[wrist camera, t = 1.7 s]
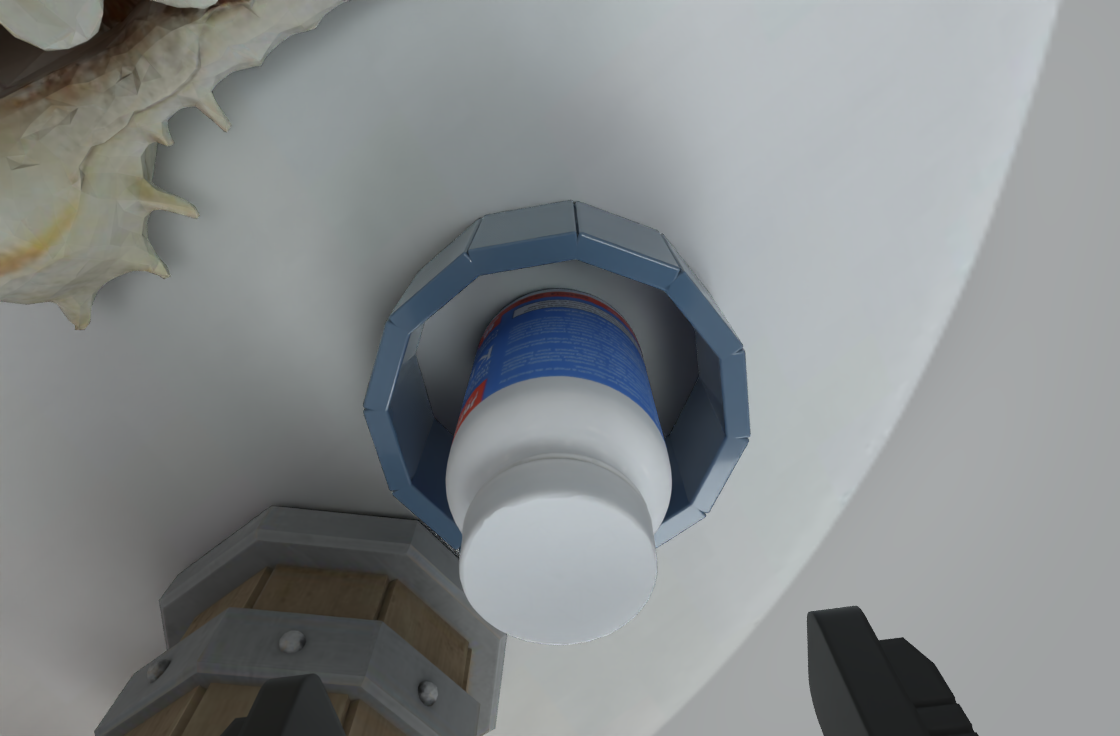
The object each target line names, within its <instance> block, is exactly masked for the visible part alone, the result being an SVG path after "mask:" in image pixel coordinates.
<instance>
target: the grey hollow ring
mask: <svg viewBox="0 0 1120 736" xmlns="http://www.w3.org/2000/svg"><path fill="white" fill-rule="evenodd" d="M575 259H576V260H579V261H582V262H585V263H587V264H590V265H593V266H596V267H599V268H601V269H604V270H607V271H610V272H613V273H615V274H618V275H621V276H624V277H627V278H629V279H632V280H635V281H638V282H641V283H643V284H646V285H649V286H652V287H655V288H657V289H660V290H663V291H665V292H666V294H667V295H668V296H669V297H670V298H671V300H672V301H673V302H674V303H675V305H676V306H677V307H678V308H679V310H680V311H681V312H682V313H683V315H684V316H685V317H686V318H687V320H688V321H689V322H690V323H691V324H692V326H693V327H694V330H695V340H696V350H697V360H698V371H699V378H698V380H697V382H696V384H695V386H694V388H693V390H692V392H691V394H690V396H689V398H688V400H687V402H686V404H685V406H684V408H683V410H682V412H681V414H680V416H679V418H678V420H677V422H676V424H675V426H674V428H673V430H672V432H671V434H670V435H669V436H668V437H666V438H665V439H664V440H665V444H666V448H667V452H668V457H669V461H670V466H671V476H672V489H671V497H670V502H669V506H668V509H667V512H666V514H665V517H664V519H663V521H662V523H661V525H660V526H659V528H658V530H657V531H656V532H655V534H654V541H655V548H658V547H659V546H661V545H662V544H664V543H665V542H667V541H669V540H670V539H672V538H673V537H675V536H676V535H678V534H680V533H681V532H683V531H684V530H686V529H687V528H689V527H691V526H692V525H694V524H695V523H697V522H699V521H700V520H702V519H703V518H705V517H706V514H705V513H709V512H710V510H711V508H712V507H713V505H714V503H715V501H716V499H717V498H718V496H719V494H720V492H721V490H722V489H723V487H724V485H725V483H726V482H727V480H728V478H729V476H730V474H731V473H732V471H733V469H734V467H735V466H736V464H737V462H738V460H739V458H740V457H741V455H742V453H743V451H744V449H745V448H746V446H747V444H748V442H749V439H748V437H750V434H751V433H750V418H749V402H748V387H747V371H746V356H745V351H744V349H743V344H742V343H741V341H740V339H739V338H738V336H737V335H736V333H735V332H734V330H733V329H732V327H731V325H730V324H729V322H728V321H727V319H726V318H725V316H724V314H723V313H722V311H721V310H720V308H719V307H718V305H717V303H716V302H715V300H714V299H713V297H712V296H711V295H710V293H709V292H708V291H707V289H706V288H705V287H704V286H703V284H702V283H701V282H700V280H699V279H698V278H697V277H696V275H695V274H694V273H693V271H692V270H691V269H690V268H689V266H688V265H687V264H686V262H685V261H684V260H683V259H682V257H681V256H680V255H679V254H678V252H677V251H676V250H675V248H674V247H673V246H672V245H671V243H670V242H669V241H668V239H667V238H666V237H665V236H664V234H660V233H659V231H658V230H656V229H653V228H650V227H647V226H645V225H642V224H639V223H637V222H634V221H631V220H629V219H626V218H623V217H620V216H618V215H615V214H612V213H610V212H607V211H604V210H602V209H599V208H596V207H593V206H591V205H588V204H585V203H583V202H580V201H576V202H575V204H574V202H573V200H568V201H562V202H556V203H551V204H545V205H539V206H534V207H528V208H523V209H517V210H511V211H506V212H500V213H494V214H489V215H485V216H484V217H483V219H482V218H479V219H478V220H476V221H475V222H474V223H473V224H472V225H471V226H470V227H468V228H467V229H466V230H465V231H464V232H463V233H462V234H460V235H459V236H458V237H457V238H456V239H455V240H454V241H452V242H451V243H450V244H449V245H448V246H447V247H446V248H444V249H443V250H442V251H441V252H440V253H439V254H438V255H436V256H435V257H434V258H433V259H432V260H431V261H430V262H428V263H427V264H426V265H425V266H424V267H423V268H422V269H420V270H419V271H418V272H417V274H416V275H415V277H414V279H413V280H412V282H411V283H410V285H409V286H408V288H407V289H406V291H405V292H404V294H403V296H402V297H401V299H400V300H399V302H398V303H397V305H396V306H395V308H394V310H393V311H392V313H391V314H390V316H389V318H388V319H387V321H386V322H385V326H384V329H383V333H382V337H381V340H380V344H379V348H378V351H377V355H376V359H375V362H374V366H373V369H372V373H371V377H370V380H369V384H368V388H367V391H366V395H365V399H364V402H363V407H364V410H363V413H364V416H365V419H366V422H367V425H368V428H369V431H370V434H371V437H372V440H373V443H374V446H375V449H376V452H377V455H378V458H379V461H380V464H381V467H382V470H383V472H384V475H385V478H386V481H387V484H388V487H389V490H390V491H393V492H392V495H393V496H394V497H395V498H397V499H398V500H399V501H400V502H401V503H402V504H403V505H405V506H406V507H407V508H408V509H409V510H410V511H411V512H413V513H414V514H415V515H416V516H417V517H418V518H419V519H421V520H422V521H423V522H424V523H425V524H426V525H427V526H429V527H430V528H431V529H432V530H433V531H434V532H435V533H437V534H438V535H439V536H440V537H441V538H442V539H443V540H444V541H446V542H447V543H448V544H449V545H450V546H451V547H452V548H454V549H455V550H456V549H458V548H459V551H461V544H462V533H461V531H460V530H459V528H458V526H457V525H456V523H455V521H454V518H453V516H452V513H451V511H450V508H449V504H448V500H447V494H446V480H445V479H446V469H447V463H448V458H449V454H450V449H451V445H452V441H453V438H454V436H453V435H452V434H451V433H450V432H449V431H448V430H447V429H446V428H445V427H443V426H442V425H441V424H440V423H439V422H438V421H437V420H436V419H435V418H434V416H433V413H432V409H431V406H430V402H429V399H428V395H427V392H426V388H425V385H424V381H423V378H422V375H421V371H420V368H419V364H418V361H417V357H416V351H417V347H418V344H419V341H420V337H421V334H422V331H423V327H424V324H425V321H426V320H428V319H429V318H430V317H431V316H432V315H434V314H435V313H436V312H437V311H438V310H439V309H441V308H442V307H443V306H444V305H445V304H447V303H448V302H449V301H450V300H451V299H453V298H454V297H455V296H456V295H457V294H458V293H460V292H461V291H462V290H463V289H464V288H466V287H467V286H468V285H469V284H470V283H472V282H473V281H474V280H475V279H476V278H477V277H479V276H481V275H487V274H493V273H499V272H504V271H510V270H516V269H522V268H528V267H534V266H539V265H545V264H551V263H557V262H563V261H569V260H575Z"/></svg>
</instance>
